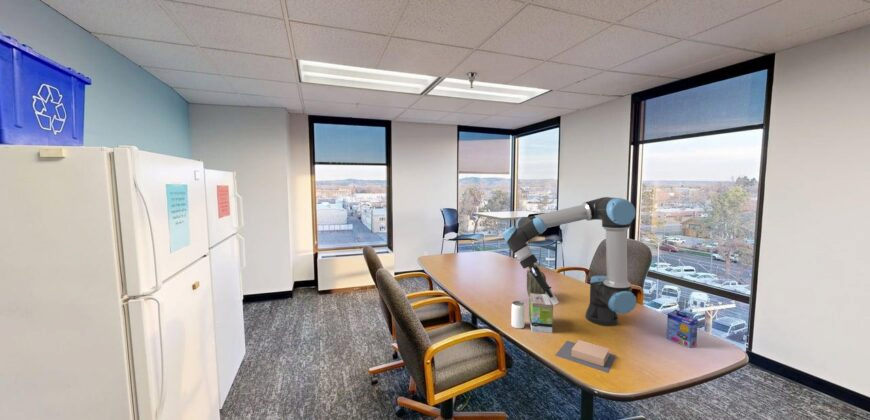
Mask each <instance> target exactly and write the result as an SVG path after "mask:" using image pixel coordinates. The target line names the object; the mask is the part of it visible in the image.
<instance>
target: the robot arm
mask: <svg viewBox="0 0 870 420" xmlns="http://www.w3.org/2000/svg"><path fill="white" fill-rule="evenodd" d="M635 217H636V208H635V206H634V204H632V202H631V201H630V200H628V199H625V198H622V197H611V196H605V197H604V196H603V197H598V198H595V199H592V200H589V201H584V202H582V203H581V204H580V205H575V206H569V207H567V208H561V209H558V210H553V211H549V212H544V213H540V214H537V215H531V216H523V217H522V216H521V217H518V219H517V221H516V226H514V225H513V226H511V227H509V228H507V229H506V230H504V231H503V232H502V237H503V239H504V241H505V242H506V244H507V245H508V247H509V249H510V250H511V252H512V253H513V254H514V258H515V259H517V260H518V261H519V264H520V265H521V267H522V268H523V269H524V270H525V269H526V268H529V271H530V273H531V274H532V275H533V277H534V278H535V279H536V280H537V282H538V283H539V285H540V286H541V288H542V289H543V293H544V292H545V293H546V295H547V296H548V298H549V299H550V301H551V302H552V304H553V306H555V305H557V304H559V303H560V301H559V300H558V298H557V297H556V295H555V293H554V292H553V291H552V286H550V285H549V284H548V283H547V280H546V281H545V279H544V278H543V276H542V274H541V272H542V271H541V270H540V271H541V272H540V271H539V269H540V268H539V267H538V266H537V267H536V266H535V264H536V262H537V263H538V259H537V257H536V255H535V254H533V251H532V250H531V248H530V246H529V245H528V244H527V242H529V241H531V240H533V239H535V238H536V237H537V236H539V235H542V234H543V233H544V232H545V231H546V230H547V229H548V228H552V227H558V226H562V225H566V224H572V223H575V222H580V221H583V220H586V221H595V220H598V221H599V220H600V221H601V227H602V228H603V229H604V230H605V254H606V255H605V259H606V262H605V263H606V275H592V276H591V277H590V282H589V284H590V285H589V304H588V307H587V308H586V312H585V318H586V320H587V321H589V322H591V323H593V324H596V325H600V326H606V327H607V326H616V325H618V324H619V317H618V314H619V315H626V314H629V313H630V312H631V311H633V310H634V309H635V307H636V305H637V297H636V296H635V294H634V293H633V292H632V284H631V282H630V281H628V246H627V244H628V238H627V237H628V235H627V234H628V233H627V232H628V230H629V229H630V228H631V223H632V222H633V220H634V219H635Z"/></svg>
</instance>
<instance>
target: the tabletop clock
mask: <svg viewBox="0 0 870 420" xmlns="http://www.w3.org/2000/svg"><path fill="white" fill-rule="evenodd" d="M534 265H535V266H536V267H538V261H537V262H535V263H534ZM539 271H540V272H541V274H542V276H543V278H544V279H545V281H546V282H547V277H546V274H545V273H544V272H543V271H541V270H540V268H539ZM526 292H527V295H528V298H530V293H533V294H546V293H545V292H544V293H543V289H542V288H541V286H540V285H539V283H538V282H537V280H536V279H535V278H534V277H533V275H532V274H531V273H530V269H529V270H527V271H526Z"/></svg>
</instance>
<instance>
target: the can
mask: <svg viewBox="0 0 870 420" xmlns="http://www.w3.org/2000/svg"><path fill="white" fill-rule="evenodd" d="M525 307H526V306H525V303H524V302H522V301H519V300H515V301H512V303H511V315H510V316H511V317H510V318H511V319H510V320H511V321H510V323H511V327H512V328H514V329H517V330H522V329H524V328H525V319H526V317H525V315H526V314H525V313H526V308H525Z"/></svg>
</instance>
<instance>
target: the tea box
mask: <svg viewBox="0 0 870 420" xmlns="http://www.w3.org/2000/svg"><path fill="white" fill-rule="evenodd" d="M528 305H529V308H528V310H529V311H528V312H529V313H528V321H529V326H530V330H531V332H533V333H546V334H553V323H554V305H553V304H552V302H551V301H550V299H549V298H548V296H547V295H546V294H533V293H530V297H529V304H528Z"/></svg>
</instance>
